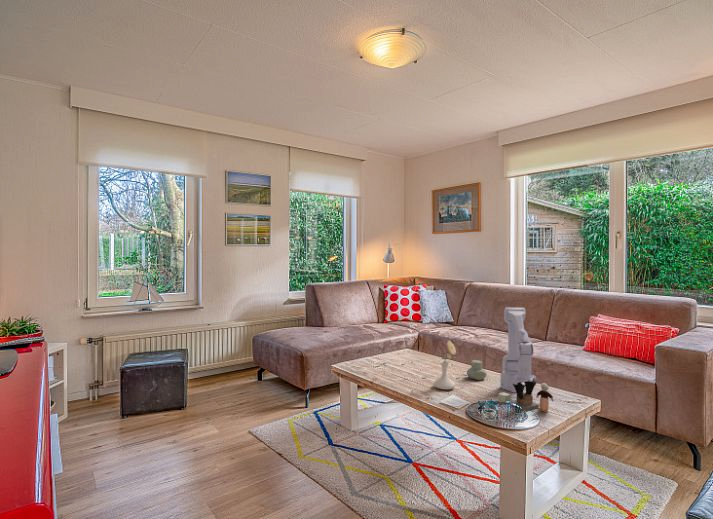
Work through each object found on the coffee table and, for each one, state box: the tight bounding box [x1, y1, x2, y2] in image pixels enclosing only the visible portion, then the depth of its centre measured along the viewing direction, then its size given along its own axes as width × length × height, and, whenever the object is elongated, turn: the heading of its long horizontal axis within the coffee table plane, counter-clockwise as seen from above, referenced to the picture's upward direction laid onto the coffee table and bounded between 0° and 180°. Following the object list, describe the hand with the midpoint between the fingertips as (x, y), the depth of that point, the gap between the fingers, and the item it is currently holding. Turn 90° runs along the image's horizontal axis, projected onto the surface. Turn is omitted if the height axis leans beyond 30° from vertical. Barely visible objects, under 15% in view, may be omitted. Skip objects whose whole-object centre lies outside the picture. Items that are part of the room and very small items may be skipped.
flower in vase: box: [433, 340, 457, 390], centre depth 215 cm, size 13×11×25 cm
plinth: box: [510, 399, 540, 412], centre depth 189 cm, size 9×9×2 cm
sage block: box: [497, 391, 511, 403], centre depth 194 cm, size 4×4×4 cm
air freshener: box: [466, 359, 487, 381], centre depth 231 cm, size 11×8×10 cm
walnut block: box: [515, 391, 534, 406], centre depth 189 cm, size 5×5×4 cm
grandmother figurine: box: [535, 382, 555, 413], centre depth 183 cm, size 8×4×13 cm, turn 56°
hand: (524, 397), depth 189 cm, fingers open, 6 cm apart
